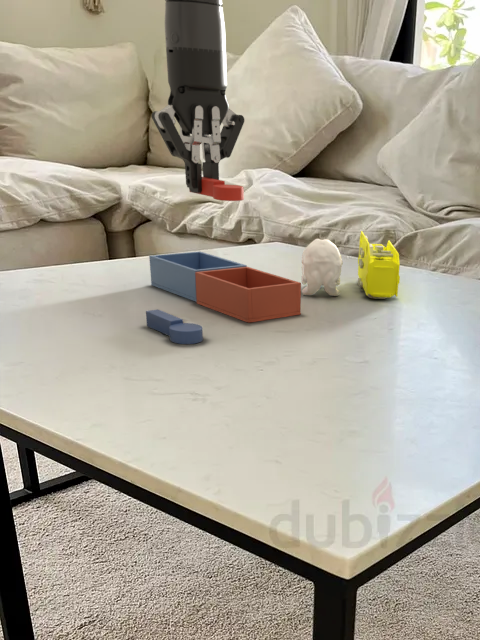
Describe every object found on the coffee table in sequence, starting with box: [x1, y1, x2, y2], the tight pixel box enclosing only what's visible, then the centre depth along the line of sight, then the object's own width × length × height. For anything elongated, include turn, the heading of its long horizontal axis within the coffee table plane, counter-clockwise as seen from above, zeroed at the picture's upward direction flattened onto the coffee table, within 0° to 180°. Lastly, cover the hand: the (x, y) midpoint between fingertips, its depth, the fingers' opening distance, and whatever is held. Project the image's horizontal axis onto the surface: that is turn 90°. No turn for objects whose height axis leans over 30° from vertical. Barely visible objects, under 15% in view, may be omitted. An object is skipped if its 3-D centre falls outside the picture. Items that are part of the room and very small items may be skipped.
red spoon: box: [189, 176, 245, 202], centre depth 106 cm, size 4×10×2 cm, turn 45°
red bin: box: [195, 266, 302, 324], centre depth 112 cm, size 9×13×4 cm
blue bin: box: [148, 250, 248, 303], centre depth 121 cm, size 9×13×4 cm
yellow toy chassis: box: [357, 230, 401, 300], centre depth 128 cm, size 16×6×8 cm, turn 6°
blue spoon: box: [145, 309, 204, 345], centre depth 99 cm, size 4×10×2 cm, turn 45°
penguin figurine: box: [301, 238, 344, 297], centre depth 125 cm, size 6×8×12 cm
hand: (202, 191), depth 108 cm, fingers closed on red spoon, 2 cm apart
